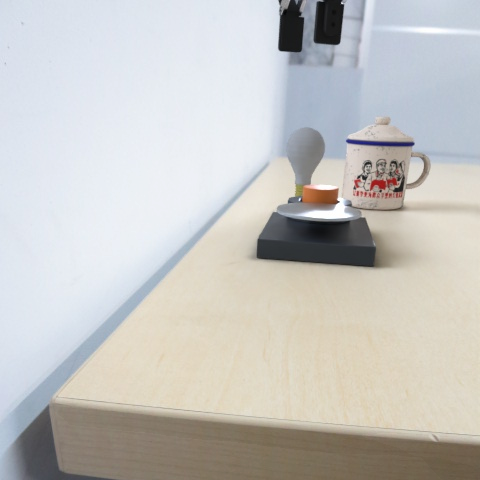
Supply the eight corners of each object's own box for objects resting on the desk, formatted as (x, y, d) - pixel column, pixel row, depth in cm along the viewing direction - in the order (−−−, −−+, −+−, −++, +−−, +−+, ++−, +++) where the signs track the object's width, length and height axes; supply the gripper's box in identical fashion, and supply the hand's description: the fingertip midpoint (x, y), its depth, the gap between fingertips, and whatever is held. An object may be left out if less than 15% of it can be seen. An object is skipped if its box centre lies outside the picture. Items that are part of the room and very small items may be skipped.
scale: (273, 224, 56) (274, 193, 55) (362, 230, 55) (366, 198, 53) (256, 258, 43) (258, 218, 42) (373, 266, 42) (379, 225, 40)
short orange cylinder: (302, 200, 53) (304, 183, 53) (336, 202, 53) (338, 185, 52) (301, 206, 50) (302, 188, 49) (337, 208, 49) (339, 190, 49)
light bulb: (300, 196, 76) (306, 126, 72) (328, 201, 72) (335, 128, 68) (275, 199, 73) (279, 126, 69) (302, 204, 69) (307, 127, 65)
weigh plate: (336, 204, 49) (336, 201, 49) (378, 219, 43) (378, 216, 42) (264, 206, 47) (264, 203, 47) (296, 223, 40) (297, 219, 40)
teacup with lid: (346, 209, 66) (357, 115, 62) (333, 198, 75) (342, 115, 70) (435, 212, 67) (452, 119, 62) (412, 200, 75) (425, 118, 71)
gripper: (399, -160, 47) (373, 43, 54) (314, -97, 62) (302, 56, 69) (330, -178, 45) (312, 37, 52) (259, -108, 60) (252, 52, 66)
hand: (306, 48), depth 60 cm, fingers open, 9 cm apart
